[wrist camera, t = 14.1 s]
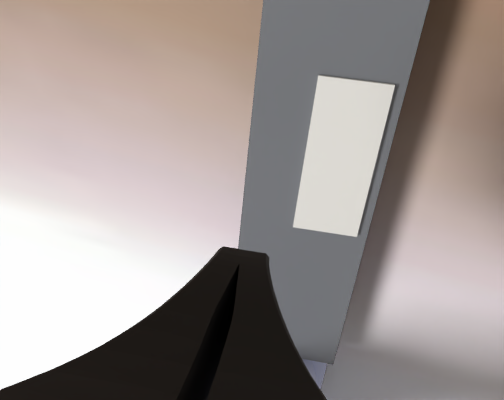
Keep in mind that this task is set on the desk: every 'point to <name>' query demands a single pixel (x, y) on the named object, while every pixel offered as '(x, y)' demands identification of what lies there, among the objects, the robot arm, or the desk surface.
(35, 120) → the desk surface
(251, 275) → the robot arm
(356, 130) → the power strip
